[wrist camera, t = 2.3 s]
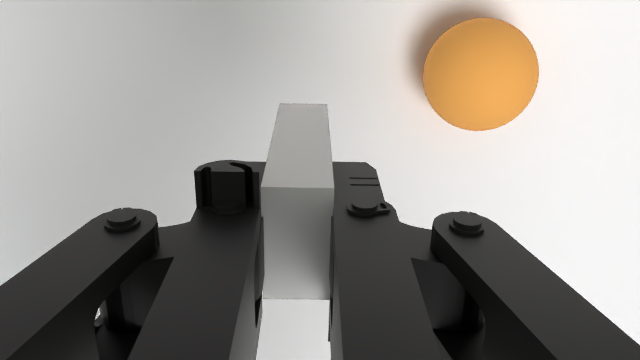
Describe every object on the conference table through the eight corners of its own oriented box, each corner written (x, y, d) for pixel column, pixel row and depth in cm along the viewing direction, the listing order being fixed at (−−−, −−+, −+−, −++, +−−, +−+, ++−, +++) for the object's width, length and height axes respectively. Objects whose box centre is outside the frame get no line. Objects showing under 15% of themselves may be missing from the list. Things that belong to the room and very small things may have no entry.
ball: (410, 113, 33) (429, 144, 27) (419, 11, 31) (442, 23, 25) (506, 114, 33) (545, 146, 27) (523, 13, 31) (569, 26, 25)
